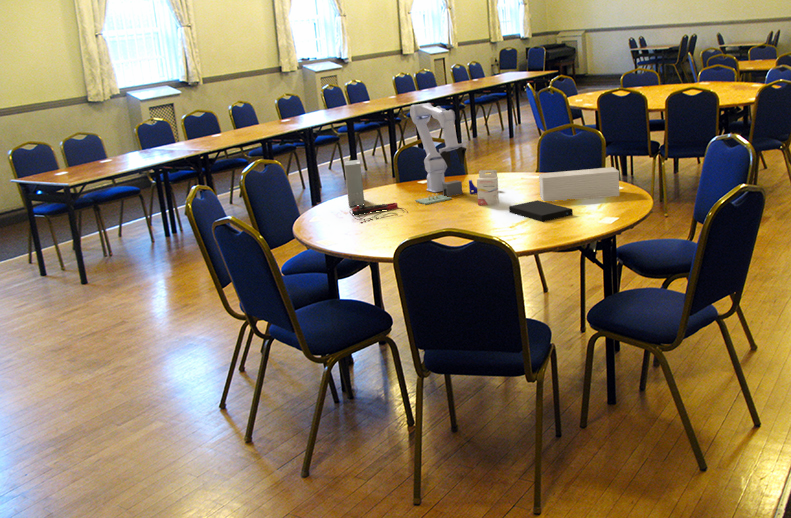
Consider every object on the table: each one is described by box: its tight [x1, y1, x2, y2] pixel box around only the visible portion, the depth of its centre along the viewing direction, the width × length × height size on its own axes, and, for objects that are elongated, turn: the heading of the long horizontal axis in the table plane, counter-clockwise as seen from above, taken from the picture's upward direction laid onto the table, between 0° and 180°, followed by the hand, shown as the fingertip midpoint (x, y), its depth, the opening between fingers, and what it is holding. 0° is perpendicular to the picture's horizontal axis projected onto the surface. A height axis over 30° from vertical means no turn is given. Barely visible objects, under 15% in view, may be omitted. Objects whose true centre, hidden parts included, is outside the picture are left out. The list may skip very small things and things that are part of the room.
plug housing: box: [442, 180, 463, 197], centre depth 343 cm, size 5×8×6 cm, turn 115°
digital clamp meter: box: [348, 202, 409, 224], centre depth 318 cm, size 23×4×25 cm
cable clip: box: [468, 179, 478, 195], centre depth 342 cm, size 12×4×6 cm, turn 85°
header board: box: [414, 192, 452, 206], centre depth 334 cm, size 10×14×3 cm
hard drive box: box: [343, 159, 366, 207], centre depth 344 cm, size 16×8×20 cm, turn 4°
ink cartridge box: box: [476, 169, 500, 206], centre depth 314 cm, size 9×5×15 cm, turn 71°
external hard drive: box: [508, 199, 574, 223], centre depth 289 cm, size 14×23×3 cm, turn 24°
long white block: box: [538, 166, 620, 202], centre depth 311 cm, size 32×11×11 cm, turn 86°
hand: (455, 165), depth 335 cm, fingers open, 7 cm apart
